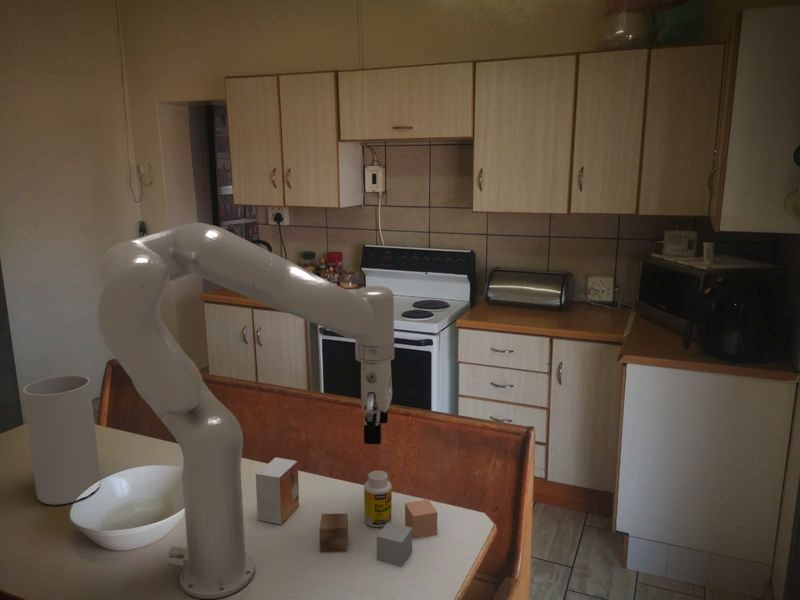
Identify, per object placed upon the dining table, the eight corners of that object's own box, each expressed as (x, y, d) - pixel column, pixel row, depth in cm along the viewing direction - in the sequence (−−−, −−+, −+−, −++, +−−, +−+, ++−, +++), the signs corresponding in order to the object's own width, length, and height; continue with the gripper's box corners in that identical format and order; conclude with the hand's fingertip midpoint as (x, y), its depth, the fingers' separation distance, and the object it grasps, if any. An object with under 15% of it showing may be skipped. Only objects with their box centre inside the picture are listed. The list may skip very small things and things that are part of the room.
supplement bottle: (373, 531, 120) (373, 484, 118) (359, 518, 125) (358, 472, 123) (396, 523, 123) (397, 476, 121) (382, 510, 128) (382, 465, 126)
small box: (281, 526, 122) (279, 478, 120) (257, 520, 124) (254, 473, 122) (300, 505, 130) (298, 460, 127) (277, 501, 131) (275, 456, 129)
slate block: (376, 560, 111) (376, 536, 110) (387, 545, 116) (387, 522, 115) (401, 567, 110) (402, 542, 109) (412, 551, 114) (412, 527, 113)
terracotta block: (412, 539, 118) (413, 516, 117) (405, 525, 123) (405, 503, 122) (436, 535, 119) (437, 512, 118) (428, 521, 124) (428, 499, 123)
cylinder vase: (101, 498, 132) (89, 389, 127) (35, 512, 127) (20, 399, 122) (100, 473, 143) (89, 372, 138) (39, 485, 138) (25, 380, 133)
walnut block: (320, 552, 114) (319, 528, 113) (322, 537, 119) (321, 513, 118) (346, 552, 114) (346, 528, 113) (347, 536, 119) (347, 513, 118)
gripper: (388, 365, 108) (389, 453, 112) (399, 338, 125) (399, 416, 129) (347, 364, 109) (349, 451, 113) (363, 337, 126) (365, 414, 130)
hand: (376, 432), depth 121 cm, fingers open, 9 cm apart
